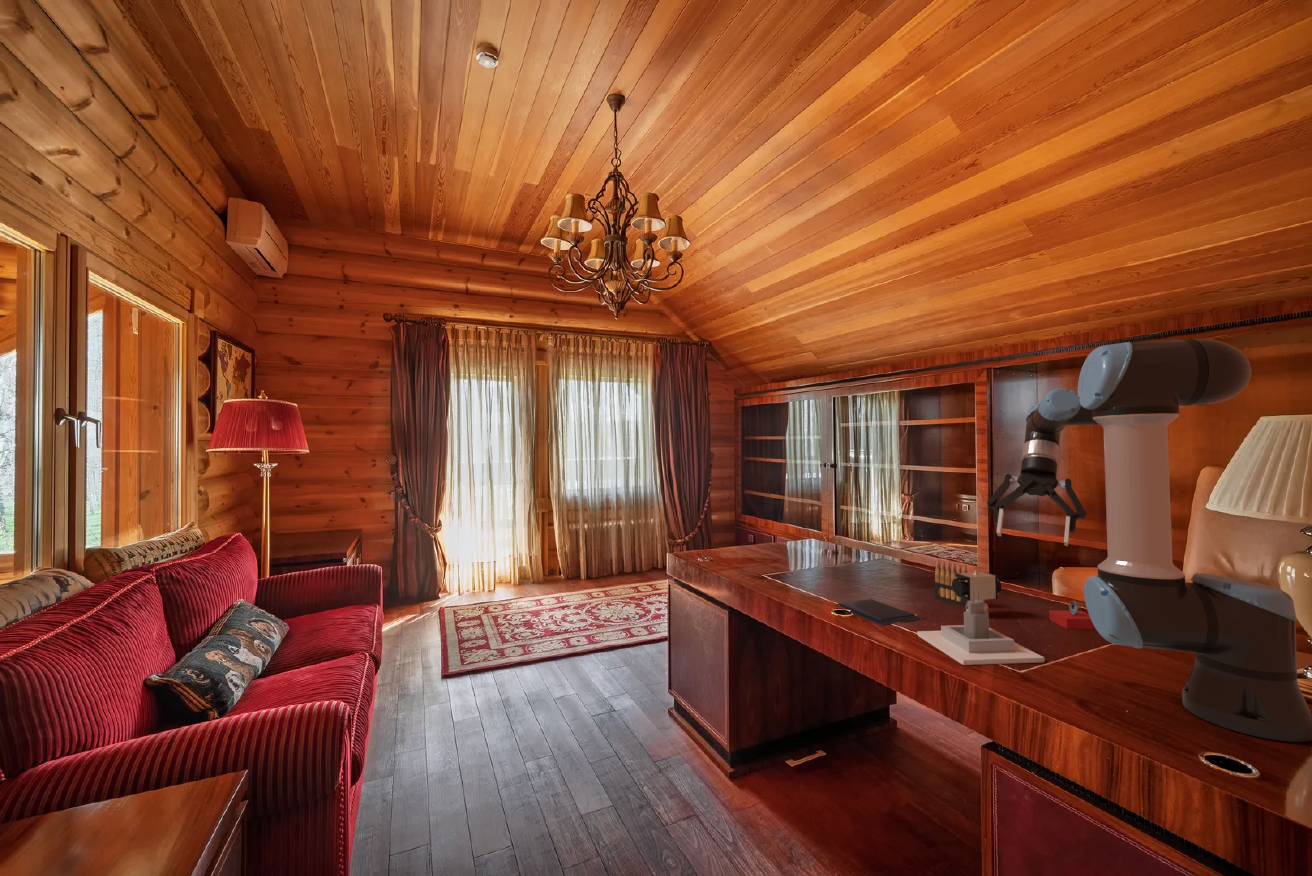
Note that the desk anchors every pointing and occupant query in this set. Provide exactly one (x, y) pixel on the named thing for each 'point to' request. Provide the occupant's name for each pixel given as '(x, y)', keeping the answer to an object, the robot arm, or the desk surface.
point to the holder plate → (979, 647)
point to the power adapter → (976, 620)
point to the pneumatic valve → (976, 586)
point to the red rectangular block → (1072, 618)
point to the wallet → (878, 612)
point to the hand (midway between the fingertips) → (1031, 539)
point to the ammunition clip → (947, 583)
